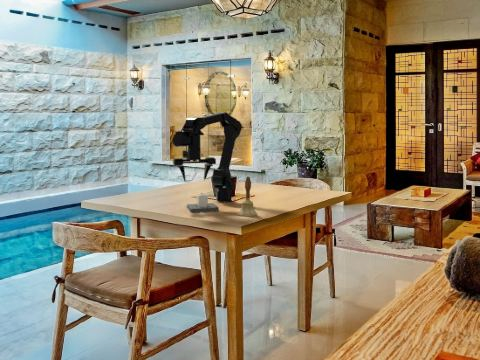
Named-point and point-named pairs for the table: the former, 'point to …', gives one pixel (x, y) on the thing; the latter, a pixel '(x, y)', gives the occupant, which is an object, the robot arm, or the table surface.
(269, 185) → the table surface
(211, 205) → the outlet plate
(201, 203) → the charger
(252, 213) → the hand bell
